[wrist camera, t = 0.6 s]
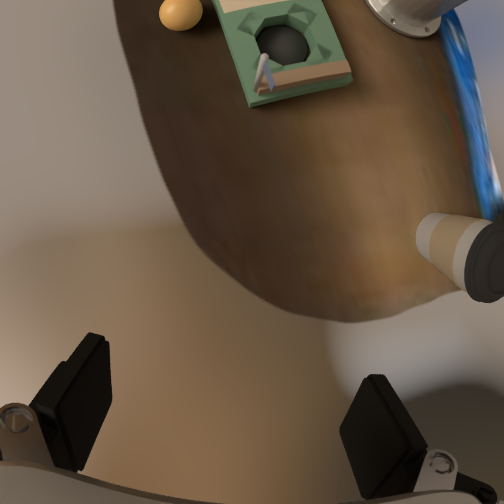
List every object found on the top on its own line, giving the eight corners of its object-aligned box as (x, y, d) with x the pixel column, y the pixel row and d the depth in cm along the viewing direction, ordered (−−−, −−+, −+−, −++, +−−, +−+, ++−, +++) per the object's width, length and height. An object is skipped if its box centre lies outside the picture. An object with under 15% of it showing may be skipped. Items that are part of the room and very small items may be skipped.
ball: (177, 0, 29) (170, -19, 24) (212, 11, 30) (208, -7, 25) (156, 29, 30) (146, 13, 25) (191, 42, 31) (185, 26, 26)
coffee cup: (428, 279, 41) (492, 326, 26) (397, 236, 39) (466, 274, 24) (466, 236, 39) (536, 267, 25) (438, 190, 37) (515, 208, 23)
